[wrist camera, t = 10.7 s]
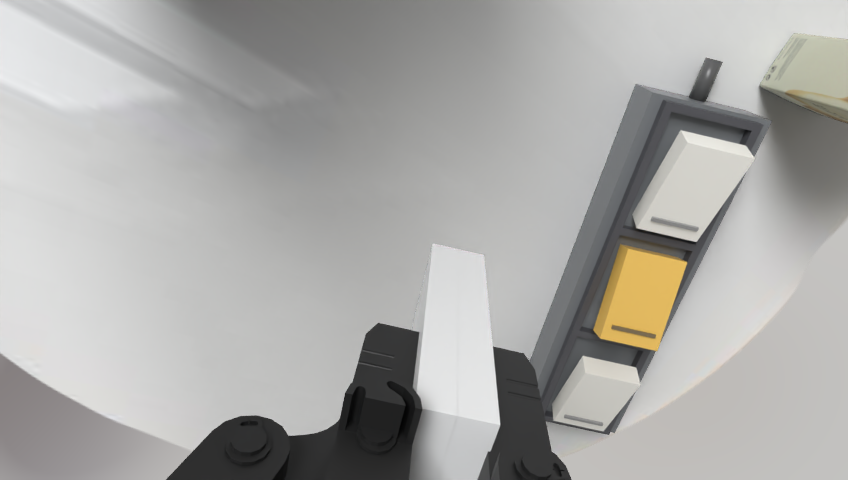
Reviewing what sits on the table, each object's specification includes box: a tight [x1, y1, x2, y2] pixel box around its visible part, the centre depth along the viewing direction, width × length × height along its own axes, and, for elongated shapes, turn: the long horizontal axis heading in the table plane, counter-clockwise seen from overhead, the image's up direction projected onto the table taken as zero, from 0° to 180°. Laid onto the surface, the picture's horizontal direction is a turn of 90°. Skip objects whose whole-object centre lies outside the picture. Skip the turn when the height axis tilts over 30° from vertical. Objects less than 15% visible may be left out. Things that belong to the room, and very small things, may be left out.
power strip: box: [530, 58, 772, 435], centre depth 45 cm, size 34×9×5 cm, turn 168°
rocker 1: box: [552, 356, 640, 431], centre depth 47 cm, size 8×5×2 cm, turn 167°
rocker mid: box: [593, 244, 687, 351], centre depth 43 cm, size 8×5×2 cm, turn 168°
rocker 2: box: [632, 130, 755, 242], centre depth 39 cm, size 8×5×2 cm, turn 167°
